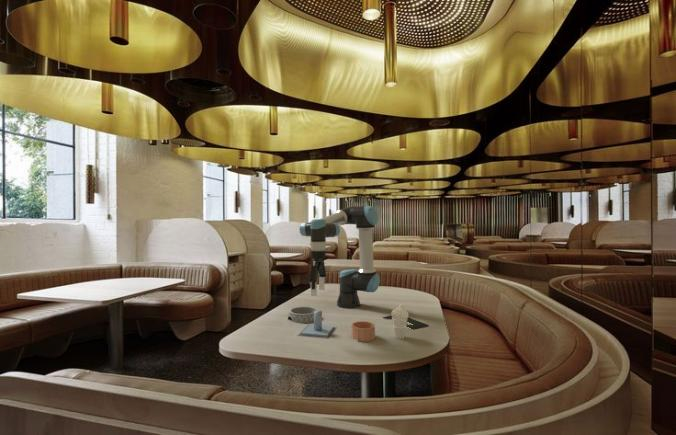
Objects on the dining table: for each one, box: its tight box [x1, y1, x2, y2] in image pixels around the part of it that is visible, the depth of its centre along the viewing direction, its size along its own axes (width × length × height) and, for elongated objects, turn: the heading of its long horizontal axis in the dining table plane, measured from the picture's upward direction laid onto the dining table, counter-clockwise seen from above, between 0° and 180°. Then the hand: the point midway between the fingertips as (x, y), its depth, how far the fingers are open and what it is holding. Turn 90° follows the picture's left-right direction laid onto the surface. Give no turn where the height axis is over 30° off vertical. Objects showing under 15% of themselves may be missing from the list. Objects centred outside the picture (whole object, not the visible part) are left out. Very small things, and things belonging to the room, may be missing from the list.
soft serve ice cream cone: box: [390, 303, 409, 340], centre depth 155 cm, size 8×8×16 cm
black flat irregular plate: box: [382, 314, 430, 331], centre depth 178 cm, size 25×1×15 cm
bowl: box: [350, 320, 376, 343], centre depth 155 cm, size 11×11×6 cm
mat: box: [297, 324, 338, 340], centre depth 161 cm, size 16×16×1 cm
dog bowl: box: [287, 306, 319, 324], centre depth 183 cm, size 17×18×5 cm
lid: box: [301, 309, 335, 337], centre depth 161 cm, size 13×13×10 cm
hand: (317, 292), depth 161 cm, fingers open, 13 cm apart
